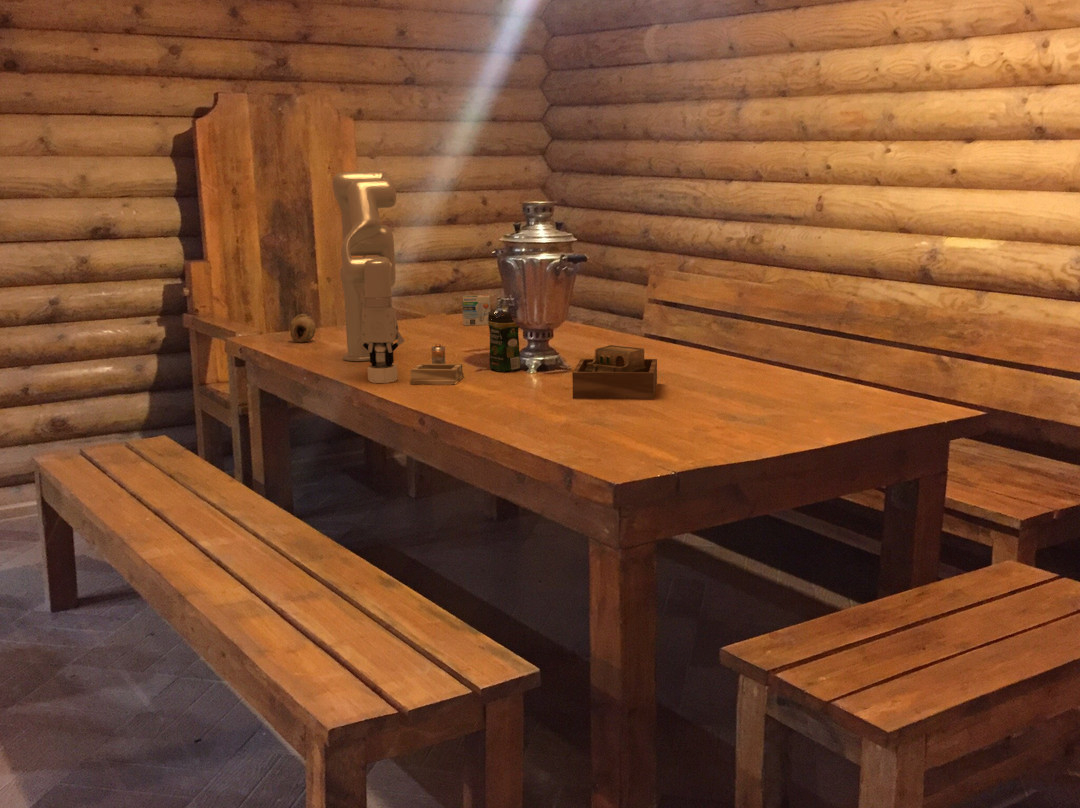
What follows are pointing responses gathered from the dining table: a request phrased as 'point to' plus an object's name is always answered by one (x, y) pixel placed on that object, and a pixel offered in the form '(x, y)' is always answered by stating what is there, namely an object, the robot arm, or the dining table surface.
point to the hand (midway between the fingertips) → (382, 364)
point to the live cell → (438, 354)
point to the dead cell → (380, 355)
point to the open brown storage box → (614, 382)
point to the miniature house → (617, 359)
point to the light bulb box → (476, 309)
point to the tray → (436, 374)
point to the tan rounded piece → (302, 328)
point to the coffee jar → (503, 343)
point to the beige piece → (382, 374)
